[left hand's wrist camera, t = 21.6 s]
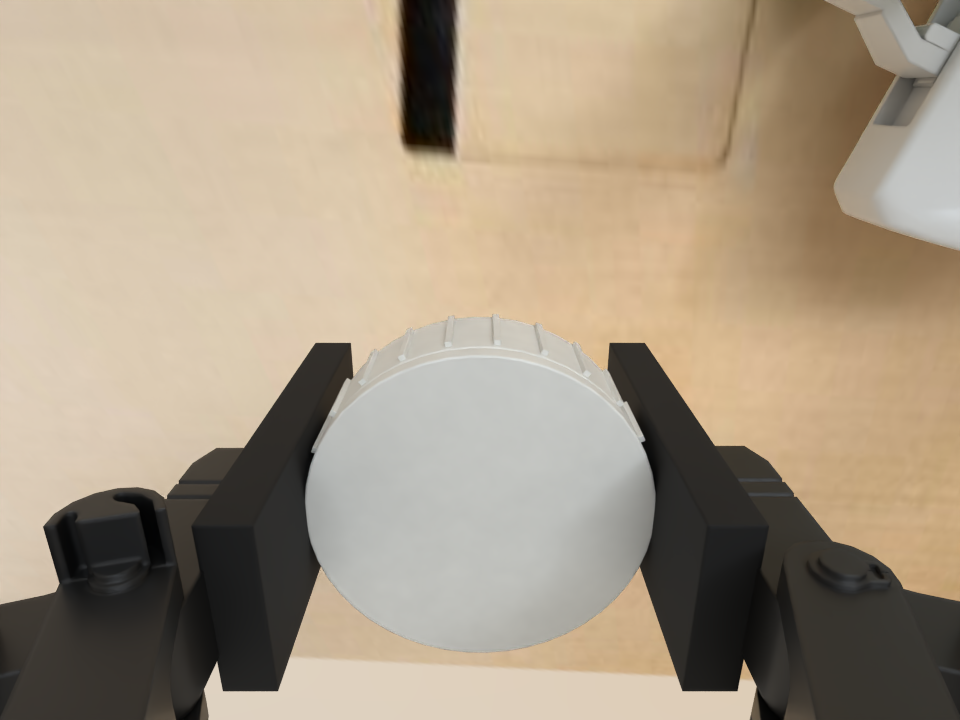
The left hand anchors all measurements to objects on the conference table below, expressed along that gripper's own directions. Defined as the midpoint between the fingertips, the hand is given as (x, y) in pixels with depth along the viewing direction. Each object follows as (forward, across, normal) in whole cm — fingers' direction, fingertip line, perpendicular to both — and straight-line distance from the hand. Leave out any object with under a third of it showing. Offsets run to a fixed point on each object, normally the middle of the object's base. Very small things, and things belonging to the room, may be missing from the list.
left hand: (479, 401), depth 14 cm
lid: (-4, 0, 0) cm, 4 cm away
